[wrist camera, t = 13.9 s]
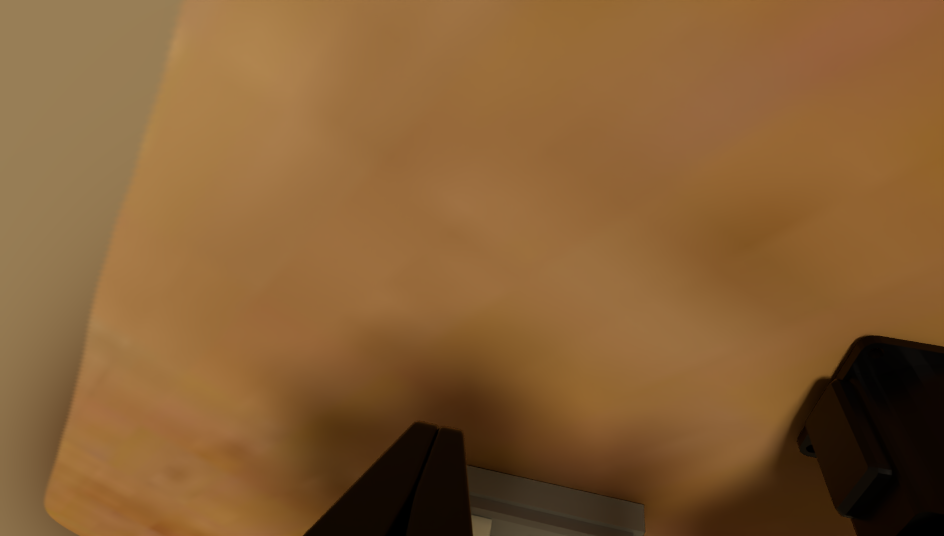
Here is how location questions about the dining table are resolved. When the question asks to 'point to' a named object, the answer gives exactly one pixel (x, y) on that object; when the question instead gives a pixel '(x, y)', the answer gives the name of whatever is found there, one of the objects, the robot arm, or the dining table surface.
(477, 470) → the switch bank
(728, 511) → the dining table surface
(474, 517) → the tab
